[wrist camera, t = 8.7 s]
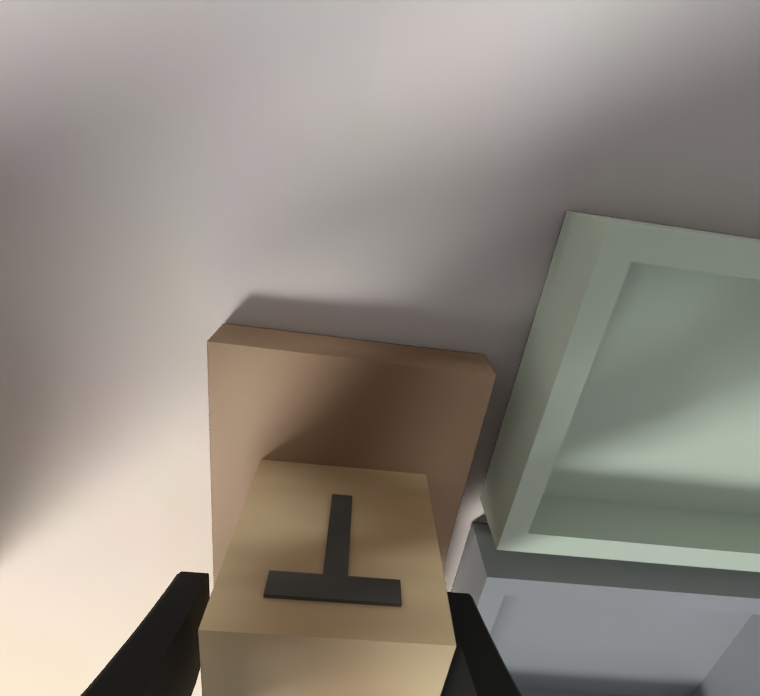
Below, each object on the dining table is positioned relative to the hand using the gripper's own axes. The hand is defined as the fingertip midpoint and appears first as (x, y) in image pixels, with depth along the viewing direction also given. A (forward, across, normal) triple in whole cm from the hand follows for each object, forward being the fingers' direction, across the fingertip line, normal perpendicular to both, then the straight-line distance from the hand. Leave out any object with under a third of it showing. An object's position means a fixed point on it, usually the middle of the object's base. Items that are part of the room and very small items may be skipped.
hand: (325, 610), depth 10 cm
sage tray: (+4, -10, -5) cm, 12 cm away
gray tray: (+4, -10, +5) cm, 12 cm away
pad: (+4, 0, 0) cm, 4 cm away
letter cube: (+2, 0, 0) cm, 3 cm away
